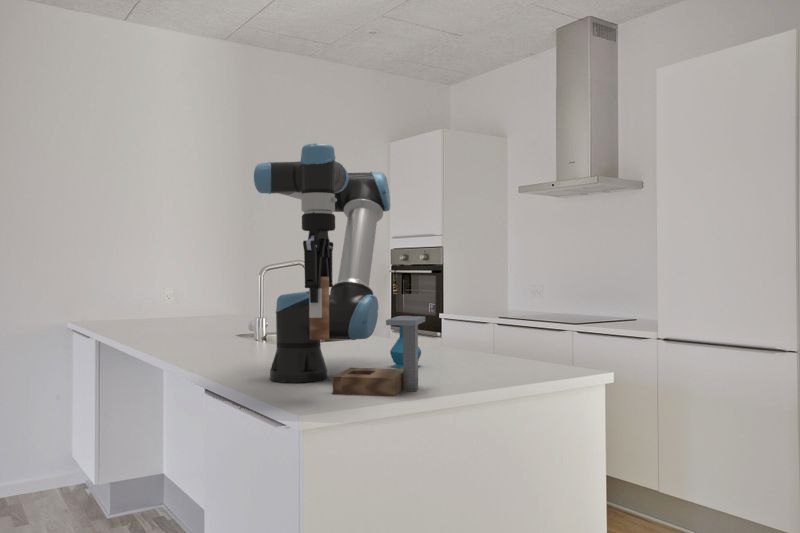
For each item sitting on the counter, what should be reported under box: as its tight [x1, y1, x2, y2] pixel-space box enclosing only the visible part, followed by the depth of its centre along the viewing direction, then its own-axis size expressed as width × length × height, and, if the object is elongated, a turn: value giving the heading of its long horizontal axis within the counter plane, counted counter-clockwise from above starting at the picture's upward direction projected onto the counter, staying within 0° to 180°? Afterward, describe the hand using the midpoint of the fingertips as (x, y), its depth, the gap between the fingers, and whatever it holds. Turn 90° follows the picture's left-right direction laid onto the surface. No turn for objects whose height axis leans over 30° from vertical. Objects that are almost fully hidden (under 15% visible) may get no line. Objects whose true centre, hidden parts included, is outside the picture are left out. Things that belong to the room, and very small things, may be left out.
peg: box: [310, 277, 330, 341], centre depth 151 cm, size 4×4×14 cm
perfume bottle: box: [389, 325, 422, 369], centre depth 198 cm, size 9×9×15 cm
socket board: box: [332, 367, 403, 397], centre depth 162 cm, size 15×14×4 cm
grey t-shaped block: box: [385, 315, 426, 392], centre depth 161 cm, size 7×12×17 cm, turn 167°
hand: (319, 316), depth 151 cm, fingers closed on peg, 4 cm apart
